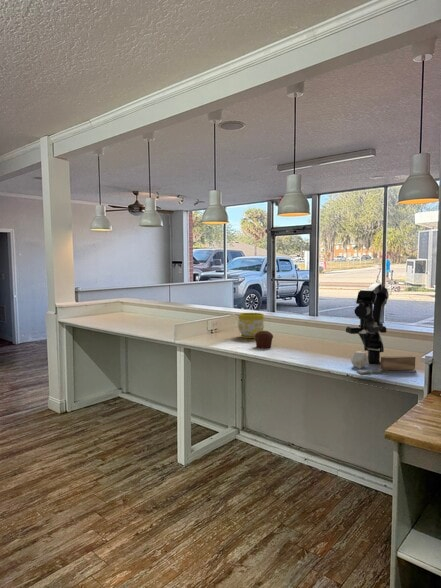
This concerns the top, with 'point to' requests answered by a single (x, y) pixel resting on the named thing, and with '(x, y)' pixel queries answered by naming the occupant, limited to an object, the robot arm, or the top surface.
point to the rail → (380, 371)
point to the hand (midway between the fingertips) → (365, 347)
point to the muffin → (263, 339)
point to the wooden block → (397, 362)
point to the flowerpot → (250, 324)
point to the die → (359, 359)
